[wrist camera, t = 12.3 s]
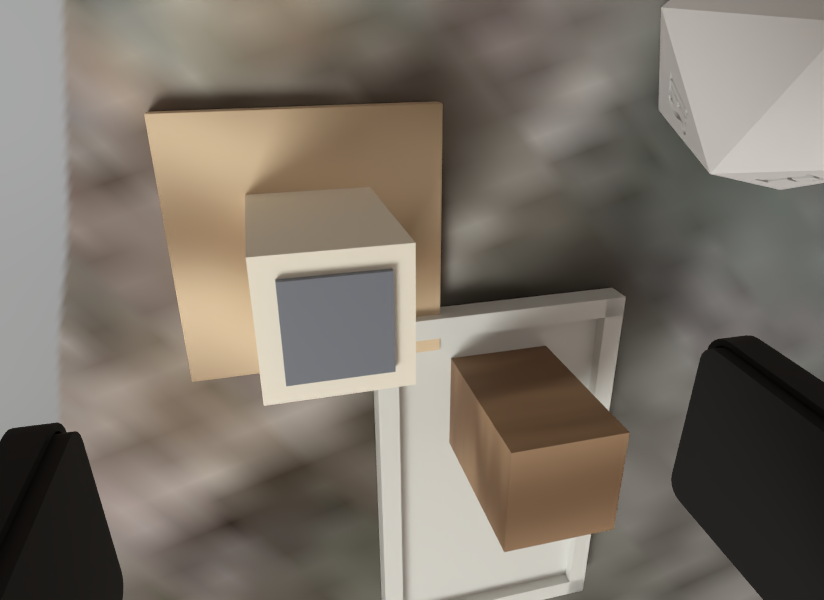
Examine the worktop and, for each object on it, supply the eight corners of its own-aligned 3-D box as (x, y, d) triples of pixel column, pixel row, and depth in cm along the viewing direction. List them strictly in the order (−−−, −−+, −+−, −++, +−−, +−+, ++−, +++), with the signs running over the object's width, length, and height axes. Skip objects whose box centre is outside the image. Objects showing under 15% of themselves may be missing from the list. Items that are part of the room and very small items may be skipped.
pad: (146, 111, 18) (144, 114, 18) (437, 101, 20) (442, 103, 20) (193, 373, 22) (192, 381, 21) (435, 342, 24) (439, 349, 23)
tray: (370, 315, 23) (376, 326, 22) (612, 287, 25) (625, 297, 24) (382, 617, 29) (386, 635, 28) (572, 574, 31) (582, 590, 30)
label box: (244, 194, 19) (245, 260, 14) (369, 186, 20) (417, 245, 15) (258, 309, 21) (264, 409, 15) (373, 297, 22) (418, 388, 16)
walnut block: (450, 358, 24) (511, 453, 18) (545, 345, 25) (629, 432, 19) (449, 442, 25) (504, 552, 20) (538, 427, 26) (613, 529, 21)
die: (553, 35, 21) (712, 259, 17) (778, -257, 15) (1106, -27, 11) (677, 83, 26) (823, 265, 22) (882, -123, 20) (1133, 70, 16)
